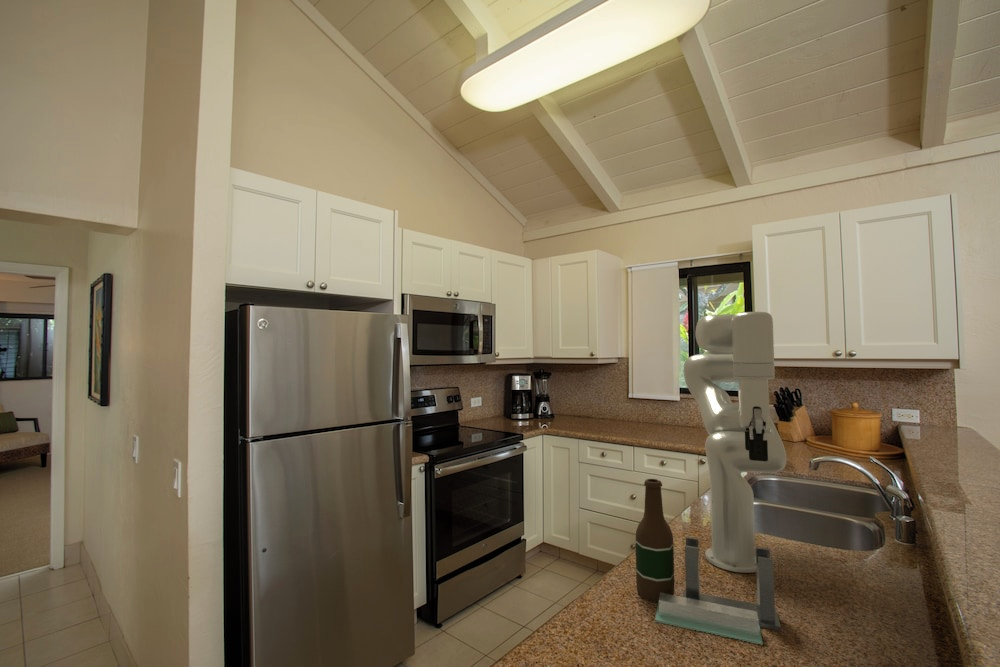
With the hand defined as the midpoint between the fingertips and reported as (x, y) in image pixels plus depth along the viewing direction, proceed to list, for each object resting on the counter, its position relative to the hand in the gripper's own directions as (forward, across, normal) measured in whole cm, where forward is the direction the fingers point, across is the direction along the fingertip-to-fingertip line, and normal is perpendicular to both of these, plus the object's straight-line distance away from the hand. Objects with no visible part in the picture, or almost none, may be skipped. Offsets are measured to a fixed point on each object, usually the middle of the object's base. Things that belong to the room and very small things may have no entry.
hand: (756, 455), depth 94 cm
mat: (+30, +11, -10) cm, 34 cm away
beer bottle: (+31, +3, -20) cm, 37 cm away
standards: (+30, +4, -6) cm, 31 cm away
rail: (+30, +11, -10) cm, 33 cm away
